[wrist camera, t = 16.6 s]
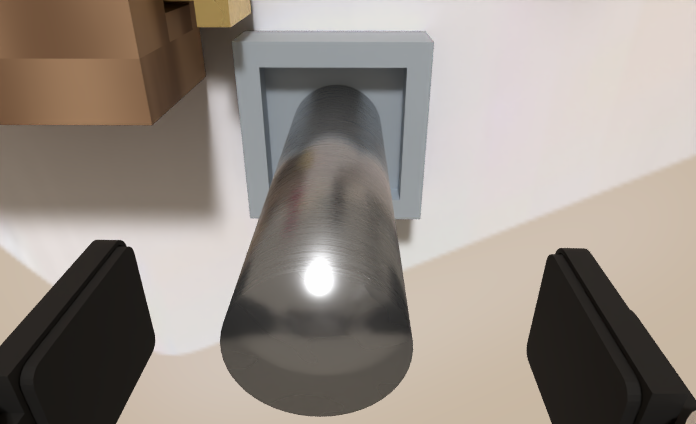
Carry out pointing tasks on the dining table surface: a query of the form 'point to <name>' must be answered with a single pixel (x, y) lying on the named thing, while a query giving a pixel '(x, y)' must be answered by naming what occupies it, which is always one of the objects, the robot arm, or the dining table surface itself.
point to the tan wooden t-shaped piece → (220, 12)
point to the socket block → (96, 60)
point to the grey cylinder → (323, 270)
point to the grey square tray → (335, 69)
